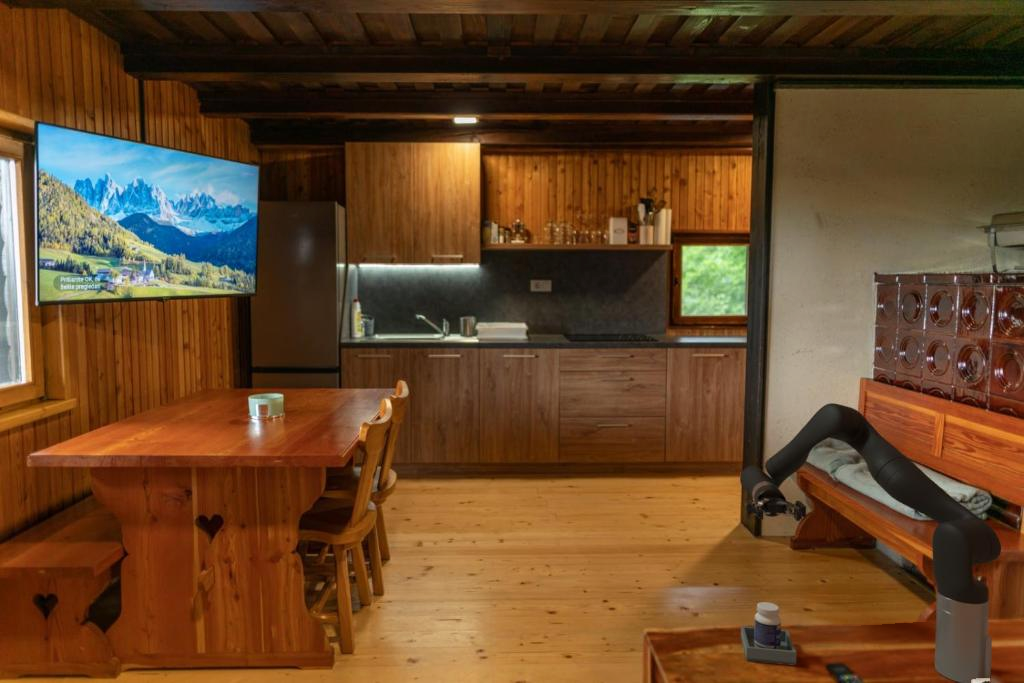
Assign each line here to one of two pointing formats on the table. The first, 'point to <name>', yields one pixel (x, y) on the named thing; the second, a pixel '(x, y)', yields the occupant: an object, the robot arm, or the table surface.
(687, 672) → the table surface
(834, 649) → the table surface
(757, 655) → the tray
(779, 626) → the pill bottle
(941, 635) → the robot arm
